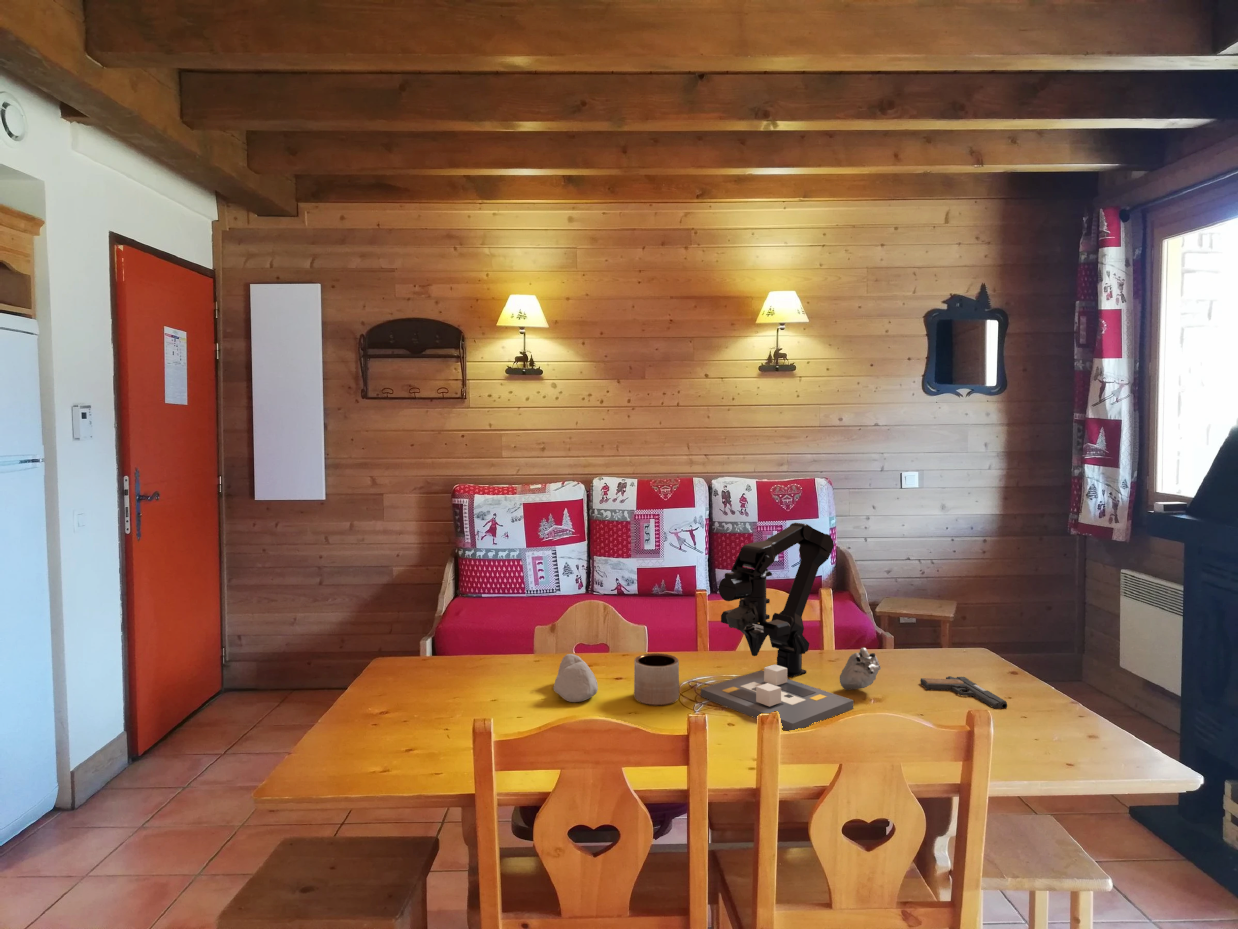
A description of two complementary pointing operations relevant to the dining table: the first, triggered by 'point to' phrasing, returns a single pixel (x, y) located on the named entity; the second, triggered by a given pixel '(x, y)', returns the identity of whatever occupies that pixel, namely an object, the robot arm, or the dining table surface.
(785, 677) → the peach cube
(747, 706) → the switch board
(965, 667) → the dining table surface
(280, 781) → the dining table surface
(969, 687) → the handgun
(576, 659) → the decorative stone
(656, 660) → the planter
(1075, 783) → the dining table surface
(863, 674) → the heart
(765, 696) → the block
